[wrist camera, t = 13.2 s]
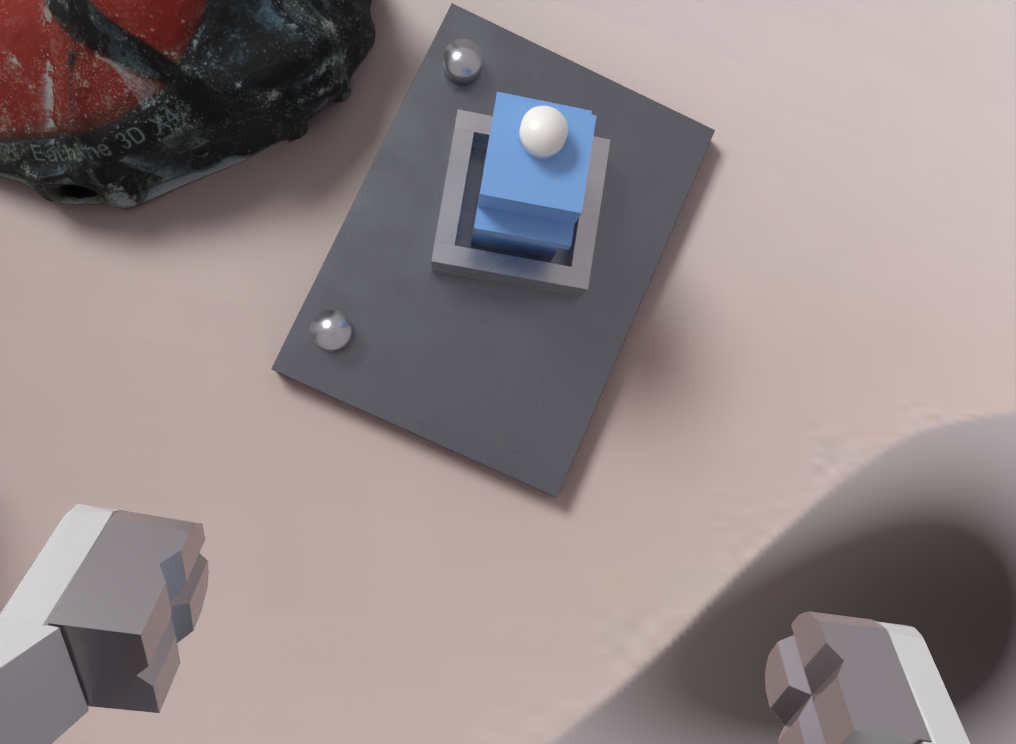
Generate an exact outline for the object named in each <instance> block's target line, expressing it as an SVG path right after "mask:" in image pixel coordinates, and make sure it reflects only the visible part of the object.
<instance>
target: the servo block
mask: <svg viewBox="0 0 1016 744" xmlns="http://www.w3.org/2000/svg"><path fill="white" fill-rule="evenodd" d="M591 114H592V111H591V110H586V109H581V108H576V107H571V106H566V105H561V104H556V103H551V102H546V101H541V100H536V99H531V98H526V97H521V96H516V95H511V94H506V93H501V92H497V95H496V101H495V106H494V112H493V118H492V124H491V130H490V135H489V141H488V147H487V152H486V158H485V164H484V170H483V175H482V181H481V187H480V193H479V199H478V205H477V211H476V217H475V223H474V228H473V234H472V240H471V244H474V245H479V246H485V247H490V248H495V249H501V250H506V251H512V252H517V253H523V254H528V255H534V256H539V257H544V258H550V259H552V258H553V257H554V255H555V254H556V252H557V251H558V249H559V248H561V249H566V250H569V248H570V247H571V243H572V236H573V230H574V224H575V223H576V221H577V220H578V218H579V216H580V215H581V213H582V207H583V201H584V194H585V188H586V181H587V175H588V168H589V162H590V155H591V149H592V142H593V136H594V129H595V123H596V115H591Z"/></svg>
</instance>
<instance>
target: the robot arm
mask: <svg viewBox="0 0 1016 744" xmlns="http://www.w3.org/2000/svg"><path fill="white" fill-rule="evenodd" d="M204 541H205V536H204V530H203V525H202V524H201V523H195V522H189V521H183V520H177V519H171V518H164V517H158V516H152V515H146V514H140V513H134V512H127V511H122V510H117V509H111V508H104V507H97V506H90V505H83V504H77V505H76V506H75V507H74V508H72V509H71V510H70V511H69V512H68V513H66V514H65V516H64V517H63V519H62V520H61V522H60V523H59V525H58V526H57V528H56V529H55V531H54V532H53V534H52V535H51V537H50V538H49V540H48V542H47V543H46V545H45V546H44V548H43V549H42V551H41V552H40V554H39V555H38V557H37V558H36V560H35V561H34V563H33V564H32V566H31V568H30V569H29V571H28V572H27V574H26V575H25V577H24V578H23V580H22V581H21V583H20V584H19V586H18V587H17V589H16V591H15V592H14V594H13V595H12V597H11V598H10V600H9V601H8V603H7V604H6V606H5V607H4V609H3V610H2V612H1V613H0V744H52V743H53V742H54V741H55V740H56V739H57V738H59V737H60V736H61V735H62V734H63V733H64V732H65V731H66V730H67V729H69V728H70V727H71V726H72V725H73V724H74V723H75V722H76V721H78V720H79V719H80V718H81V717H82V716H83V715H84V714H85V713H86V712H88V706H93V707H103V708H113V709H124V710H134V711H144V712H154V713H160V710H161V708H162V705H163V703H164V701H165V698H166V696H167V693H168V691H169V689H170V686H171V684H172V681H173V679H174V677H175V674H176V672H177V669H178V667H179V665H180V658H179V652H178V646H177V643H178V642H179V641H180V640H182V639H183V638H184V637H186V636H187V635H188V634H190V633H191V632H192V631H194V628H195V626H196V623H197V620H198V618H199V615H200V613H201V610H202V606H203V603H204V599H205V595H206V591H207V585H208V574H209V571H208V561H207V560H206V559H205V558H204V557H203V556H202V555H201V554H200V553H199V552H200V550H201V548H202V545H203V543H204ZM791 626H792V629H793V633H794V635H793V636H791V637H788V638H786V639H783V640H781V641H779V642H777V644H776V645H775V647H774V648H773V650H772V651H771V653H770V654H769V656H768V661H767V666H766V671H765V682H766V693H767V697H768V701H769V706H770V709H771V710H772V711H773V712H774V714H775V715H776V716H777V717H778V718H779V720H780V721H781V722H782V723H783V725H784V729H783V731H782V733H781V735H780V737H779V740H778V743H779V744H970V742H969V740H968V738H967V735H966V733H965V731H964V728H963V726H962V724H961V722H960V719H959V717H958V715H957V713H956V710H955V708H954V706H953V704H952V701H951V699H950V697H949V695H948V692H947V690H946V688H945V686H944V683H943V682H942V679H941V677H940V674H939V672H938V670H937V668H936V666H935V663H934V661H933V659H932V657H931V654H930V652H929V650H928V647H927V645H926V643H925V641H924V639H923V637H922V635H921V634H920V633H919V632H918V631H917V630H916V629H915V628H914V627H910V626H906V625H899V624H891V623H883V622H875V621H874V620H869V619H862V618H854V617H847V616H838V615H831V614H823V613H815V612H806V613H802V614H800V615H799V616H798V617H797V618H796V619H795V621H794V622H793V623H792V624H791Z"/></svg>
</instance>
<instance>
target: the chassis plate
mask: <svg viewBox="0 0 1016 744" xmlns="http://www.w3.org/2000/svg"><path fill="white" fill-rule="evenodd" d="M497 92H501V93H506V94H511V95H516V96H521V97H526V98H531V99H536V100H541V101H546V102H551V103H556V104H561V105H566V106H571V107H576V108H581V109H586V110H591V111H592V114H591V115H596V123H595V129H594V136H593V142H592V149H591V155H590V162H589V168H588V175H587V181H586V188H585V194H584V201H583V207H582V213H581V215H580V216H579V218H578V220H577V221H576V223H575V224H574V230H573V236H572V243H571V247H570V248H569V250H566V249H561V248H559V249H558V251H557V252H556V254H555V255H554V257H553V258H552V259H550V258H544V257H539V256H534V255H528V254H523V253H517V252H512V251H506V250H501V249H495V248H490V247H485V246H479V245H474V244H471V240H472V234H473V228H474V223H475V217H476V211H477V205H478V199H479V193H480V187H481V181H482V175H483V170H484V164H485V158H486V152H487V147H488V141H489V135H490V130H491V124H492V118H493V112H494V106H495V101H496V95H497ZM714 131H715V130H713V129H711V128H709V127H707V126H705V125H703V124H701V123H699V122H697V121H695V120H693V119H690V118H688V117H686V116H684V115H682V114H680V113H678V112H676V111H674V110H672V109H670V108H668V107H666V106H664V105H661V104H659V103H657V102H655V101H653V100H651V99H649V98H647V97H645V96H643V95H641V94H639V93H637V92H635V91H632V90H630V89H628V88H626V87H624V86H622V85H620V84H618V83H616V82H614V81H612V80H610V79H608V78H606V77H603V76H601V75H599V74H597V73H595V72H593V71H591V70H589V69H587V68H585V67H583V66H581V65H579V64H577V63H574V62H572V61H570V60H568V59H566V58H564V57H562V56H560V55H558V54H556V53H554V52H552V51H550V50H548V49H546V48H543V47H541V46H539V45H537V44H535V43H533V42H531V41H529V40H527V39H525V38H523V37H521V36H519V35H517V34H514V33H512V32H510V31H508V30H506V29H504V28H502V27H500V26H498V25H496V24H494V23H492V22H490V21H488V20H485V19H483V18H481V17H479V16H477V15H475V14H473V13H471V12H469V11H467V10H465V9H463V8H461V7H459V6H456V5H454V4H451V6H450V8H449V10H448V12H447V14H446V16H445V18H444V20H443V22H442V24H441V26H440V28H439V30H438V32H437V34H436V37H435V39H434V41H433V43H432V45H431V47H430V49H429V51H428V53H427V55H426V57H425V59H424V61H423V63H422V65H421V67H420V69H419V71H418V73H417V75H416V77H415V79H414V81H413V83H412V85H411V87H410V89H409V91H408V93H407V95H406V97H405V99H404V101H403V103H402V105H401V107H400V109H399V111H398V113H397V116H396V118H395V120H394V122H393V124H392V126H391V128H390V130H389V132H388V134H387V136H386V138H385V140H384V142H383V144H382V146H381V148H380V150H379V152H378V154H377V156H376V158H375V160H374V162H373V164H372V166H371V168H370V170H369V172H368V174H367V176H366V178H365V180H364V182H363V184H362V186H361V188H360V190H359V192H358V195H357V197H356V199H355V201H354V203H353V205H352V207H351V209H350V211H349V213H348V215H347V217H346V219H345V221H344V223H343V225H342V227H341V229H340V231H339V233H338V235H337V237H336V239H335V241H334V243H333V245H332V247H331V249H330V251H329V253H328V255H327V257H326V259H325V261H324V263H323V265H322V267H321V269H320V271H319V273H318V276H317V278H316V280H315V282H314V284H313V286H312V288H311V290H310V292H309V294H308V296H307V298H306V300H305V302H304V304H303V306H302V308H301V310H300V312H299V314H298V316H297V318H296V320H295V322H294V324H293V326H292V328H291V330H290V332H289V334H288V336H287V338H286V340H285V342H284V344H283V346H282V348H281V350H280V352H279V355H278V357H277V359H276V361H275V363H274V365H273V367H272V370H274V371H277V372H279V373H281V374H283V375H285V376H288V377H290V378H292V379H294V380H297V381H299V382H301V383H303V384H305V385H308V386H310V387H312V388H314V389H317V390H319V391H321V392H323V393H326V394H328V395H330V396H332V397H334V398H337V399H339V400H341V401H343V402H346V403H348V404H350V405H352V406H354V407H357V408H359V409H361V410H363V411H366V412H368V413H370V414H372V415H374V416H377V417H379V418H381V419H383V420H386V421H388V422H390V423H392V424H394V425H397V426H399V427H401V428H403V429H406V430H408V431H410V432H412V433H415V434H417V435H419V436H421V437H423V438H426V439H428V440H430V441H432V442H435V443H437V444H439V445H441V446H443V447H446V448H448V449H450V450H452V451H455V452H457V453H459V454H461V455H463V456H466V457H468V458H470V459H472V460H475V461H477V462H479V463H481V464H483V465H486V466H488V467H490V468H492V469H495V470H497V471H499V472H501V473H504V474H506V475H508V476H510V477H512V478H515V479H517V480H519V481H521V482H524V483H526V484H528V485H530V486H532V487H535V488H537V489H539V490H541V491H544V492H546V493H548V494H550V495H552V496H555V497H557V496H558V493H559V491H560V489H561V486H562V484H563V482H564V480H565V477H566V475H567V473H568V470H569V468H570V466H571V463H572V461H573V459H574V456H575V454H576V452H577V449H578V447H579V445H580V442H581V440H582V438H583V435H584V433H585V431H586V428H587V426H588V424H589V421H590V419H591V417H592V415H593V412H594V410H595V408H596V405H597V403H598V401H599V398H600V396H601V394H602V391H603V389H604V387H605V384H606V382H607V380H608V377H609V375H610V373H611V370H612V368H613V366H614V363H615V361H616V359H617V356H618V354H619V352H620V350H621V347H622V345H623V343H624V340H625V338H626V336H627V333H628V331H629V329H630V326H631V324H632V322H633V319H634V317H635V315H636V312H637V310H638V308H639V305H640V303H641V301H642V298H643V296H644V294H645V291H646V289H647V287H648V284H649V282H650V280H651V278H652V275H653V273H654V271H655V268H656V266H657V264H658V261H659V259H660V257H661V254H662V252H663V250H664V247H665V245H666V243H667V240H668V238H669V236H670V233H671V231H672V229H673V226H674V224H675V222H676V219H677V217H678V215H679V213H680V210H681V208H682V206H683V203H684V201H685V199H686V196H687V194H688V192H689V189H690V187H691V185H692V182H693V180H694V178H695V175H696V173H697V171H698V168H699V166H700V164H701V161H702V159H703V157H704V154H705V152H706V150H707V147H708V145H709V143H710V141H711V138H712V136H713V134H714Z"/></svg>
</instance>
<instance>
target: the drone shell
mask: <svg viewBox="0 0 1016 744" xmlns="http://www.w3.org/2000/svg"><path fill="white" fill-rule="evenodd" d="M370 4H371V0H0V176H2V177H5V178H8V179H12V180H15V181H18V182H21V183H24V184H26V185H28V186H30V187H31V188H33V189H35V190H36V191H38V192H39V193H40V194H41V195H42V196H43V197H44V198H46V199H47V200H49V201H56V202H60V203H67V204H98V203H105V204H107V205H109V206H110V207H121V208H124V209H127V208H130V207H133V206H137V205H140V204H142V203H144V202H146V201H149V200H151V199H153V198H155V197H158V196H160V195H162V194H164V193H167V192H169V191H171V190H173V189H176V188H178V187H180V186H182V185H185V184H187V183H189V182H192V181H194V180H197V179H199V178H202V177H204V176H207V175H209V174H212V173H214V172H217V171H219V170H222V169H224V168H227V167H229V166H232V165H234V164H237V163H239V162H242V161H244V160H247V159H248V158H250V157H252V156H253V155H255V154H257V153H259V152H260V151H262V150H264V149H265V148H267V147H269V146H270V145H272V144H275V143H277V142H280V141H285V140H290V141H289V142H292V141H294V140H296V139H299V138H301V137H302V136H303V135H304V134H306V132H307V130H308V125H307V124H306V121H307V120H308V119H309V118H310V117H311V116H313V115H314V114H315V113H317V112H318V111H319V110H321V109H322V108H323V107H325V106H326V105H327V104H329V103H330V102H342V101H344V100H347V99H348V97H349V95H350V92H351V89H350V78H351V76H352V74H353V72H354V71H355V69H356V68H357V67H358V66H359V64H360V63H361V62H362V61H363V59H364V58H365V57H366V55H367V54H368V52H369V51H370V49H371V48H372V46H373V44H374V39H375V29H374V24H373V22H372V19H371V14H370ZM289 142H288V143H289ZM76 185H78V186H76Z"/></svg>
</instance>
